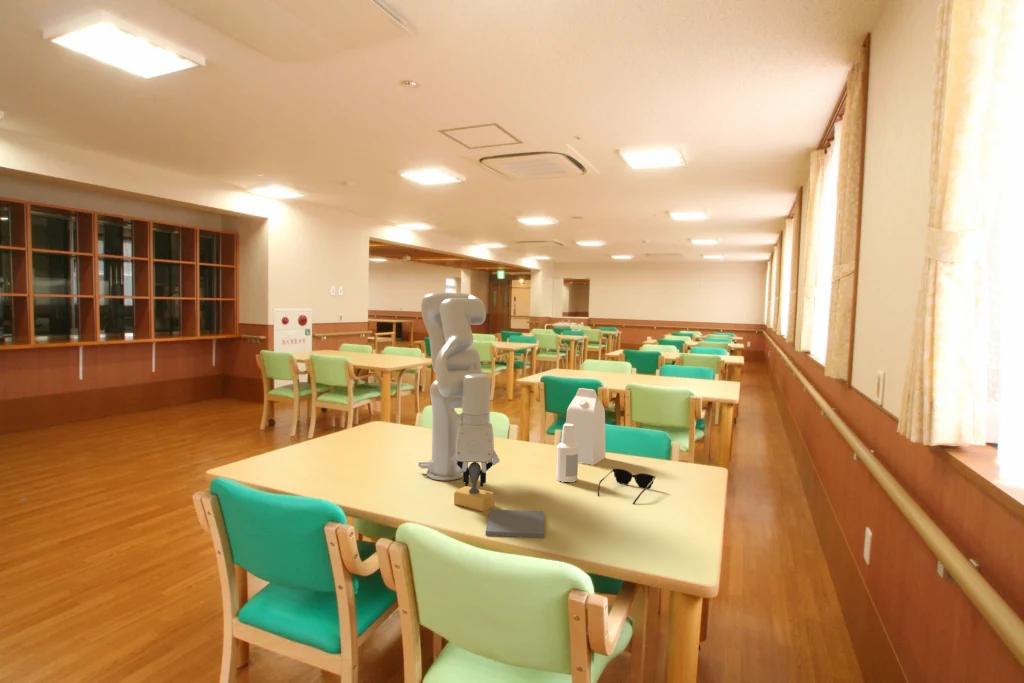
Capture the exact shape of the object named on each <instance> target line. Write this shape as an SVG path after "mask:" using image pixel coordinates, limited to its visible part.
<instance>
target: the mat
mask: <svg viewBox="0 0 1024 683" xmlns="http://www.w3.org/2000/svg"><path fill="white" fill-rule="evenodd" d="M489 510H490V511H489V514H488V519H487V524H486V527H485V536H492V535H509V536H508V537H514V536H522V537H521V538H537V537H540V539H541V538H542V539H543V538H545V525H544V524H545V523H544V522H545V521H544V511H543V510H542V511H541V510H525V509H524V510H523V509H521V510H520V509H519V510H517V509H501V508H500V509H499V508H498V509H496V508H490V509H489Z"/></svg>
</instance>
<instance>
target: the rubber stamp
mask: <svg viewBox="0 0 1024 683" xmlns="http://www.w3.org/2000/svg"><path fill="white" fill-rule="evenodd" d="M481 469H482V466H481V465H480V463H479V462H470V464H469V465H468V471H469V480H470V482H471V486H469V485H468V486H465V485H464V486H463V487H460V488H459V489H456V490H454V492H453V497H454V498H453V505H456V506H461V507H463V506H464V508H467V507H468V508H467V509H471V510H475V511H479V512H482V511H483V513H485V512H487V511H488V510H490V509H492V508H493V507H495V492H494V491H488V490H485V489H480V488H478V487H477V485H478V484H477V483H478V481H479V480H480V472H481ZM492 506H493V507H492ZM491 507H492V508H491ZM489 508H490V509H489ZM487 509H488V510H487ZM484 511H485V512H484Z"/></svg>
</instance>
